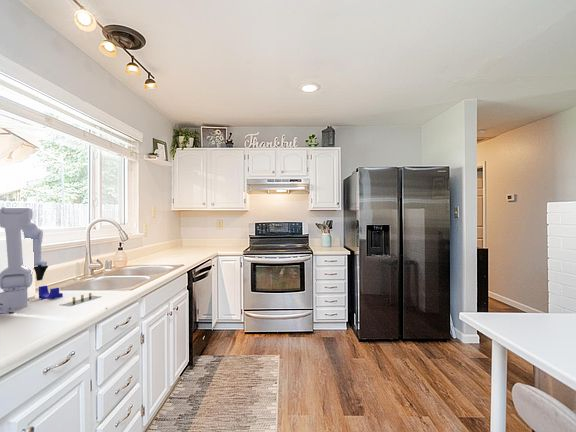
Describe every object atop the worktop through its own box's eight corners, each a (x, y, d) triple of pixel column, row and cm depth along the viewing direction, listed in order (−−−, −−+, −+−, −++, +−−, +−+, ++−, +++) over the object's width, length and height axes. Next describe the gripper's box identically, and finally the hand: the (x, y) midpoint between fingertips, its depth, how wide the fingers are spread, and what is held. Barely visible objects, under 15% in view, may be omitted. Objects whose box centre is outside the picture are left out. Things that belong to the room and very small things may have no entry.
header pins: (73, 303, 136) (73, 297, 136) (72, 303, 136) (72, 297, 136) (91, 298, 144) (91, 292, 144) (90, 298, 144) (90, 292, 144)
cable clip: (62, 299, 148) (62, 287, 148) (52, 301, 144) (52, 289, 144) (49, 296, 153) (49, 284, 153) (38, 299, 149) (38, 286, 149)
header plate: (70, 308, 131) (70, 305, 131) (58, 307, 133) (58, 304, 133) (102, 299, 147) (102, 296, 147) (91, 298, 149) (91, 295, 149)
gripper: (52, 252, 154) (53, 279, 154) (32, 251, 158) (32, 277, 158) (38, 253, 147) (38, 281, 147) (16, 253, 151) (16, 280, 151)
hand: (34, 279), depth 152 cm, fingers open, 7 cm apart
